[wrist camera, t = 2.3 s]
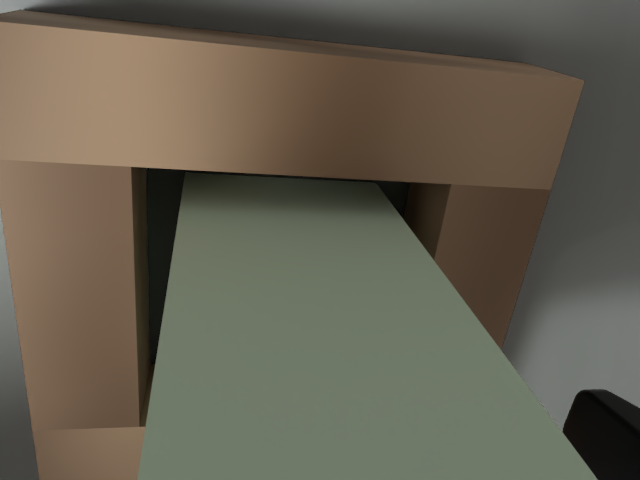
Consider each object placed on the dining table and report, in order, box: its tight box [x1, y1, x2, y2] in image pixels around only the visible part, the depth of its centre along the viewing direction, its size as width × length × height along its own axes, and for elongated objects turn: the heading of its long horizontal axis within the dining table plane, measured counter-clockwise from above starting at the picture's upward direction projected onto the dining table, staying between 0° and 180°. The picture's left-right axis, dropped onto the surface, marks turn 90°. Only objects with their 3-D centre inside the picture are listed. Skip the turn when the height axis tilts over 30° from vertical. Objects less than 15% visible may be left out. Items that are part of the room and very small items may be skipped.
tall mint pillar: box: [137, 173, 598, 480], centre depth 8 cm, size 4×4×10 cm
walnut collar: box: [0, 10, 585, 480], centre depth 11 cm, size 10×10×2 cm
